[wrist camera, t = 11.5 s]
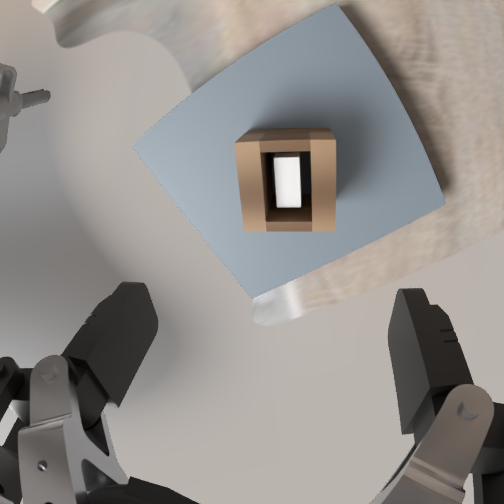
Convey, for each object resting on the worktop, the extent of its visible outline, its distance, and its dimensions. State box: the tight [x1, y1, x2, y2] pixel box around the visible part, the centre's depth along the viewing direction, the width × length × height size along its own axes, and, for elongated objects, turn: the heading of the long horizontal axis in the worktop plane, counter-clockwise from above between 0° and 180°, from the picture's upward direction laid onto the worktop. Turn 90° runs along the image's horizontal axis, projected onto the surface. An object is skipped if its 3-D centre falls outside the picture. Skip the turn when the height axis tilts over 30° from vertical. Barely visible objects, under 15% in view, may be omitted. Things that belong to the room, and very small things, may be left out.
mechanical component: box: [0, 63, 50, 153], centre depth 20 cm, size 3×10×10 cm, turn 154°
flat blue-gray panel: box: [131, 3, 446, 298], centre depth 22 cm, size 20×18×6 cm
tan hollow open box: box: [234, 128, 336, 232], centre depth 21 cm, size 6×6×5 cm
